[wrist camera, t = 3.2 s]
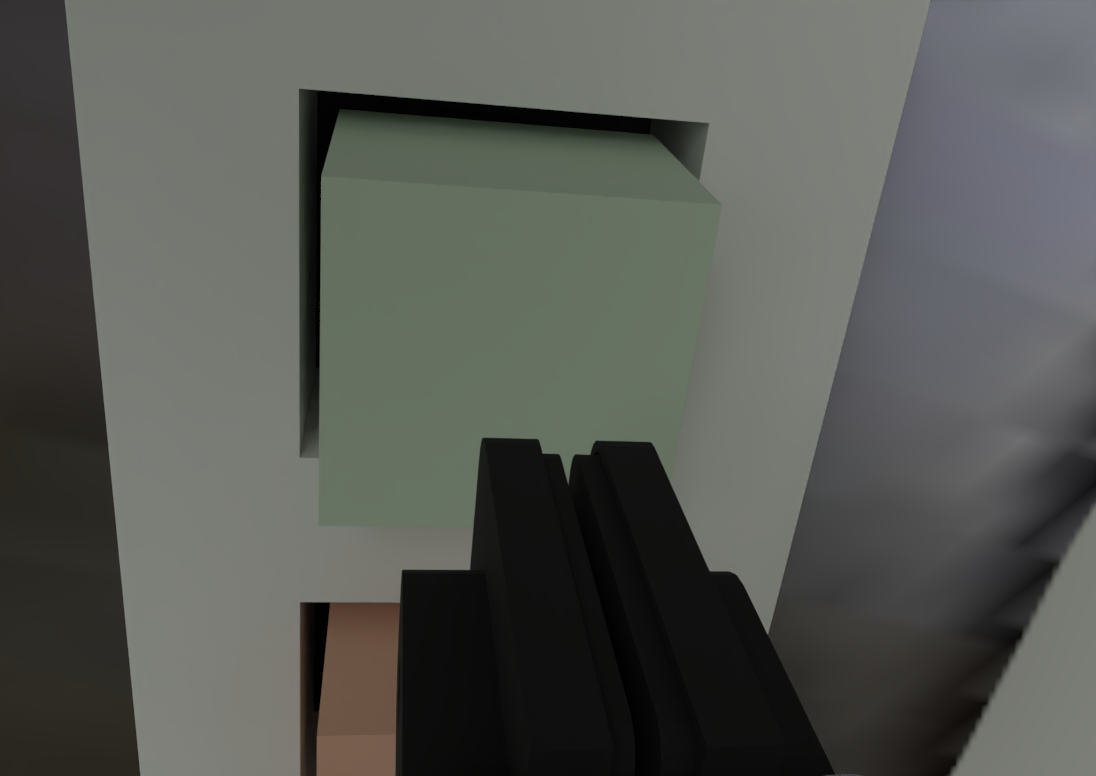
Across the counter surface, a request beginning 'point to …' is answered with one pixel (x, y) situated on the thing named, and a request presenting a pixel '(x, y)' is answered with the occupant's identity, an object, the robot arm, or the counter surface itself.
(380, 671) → the terracotta key
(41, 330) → the counter surface
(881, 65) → the keypad housing
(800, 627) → the counter surface
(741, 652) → the robot arm
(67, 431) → the counter surface
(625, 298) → the sage key
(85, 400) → the counter surface
